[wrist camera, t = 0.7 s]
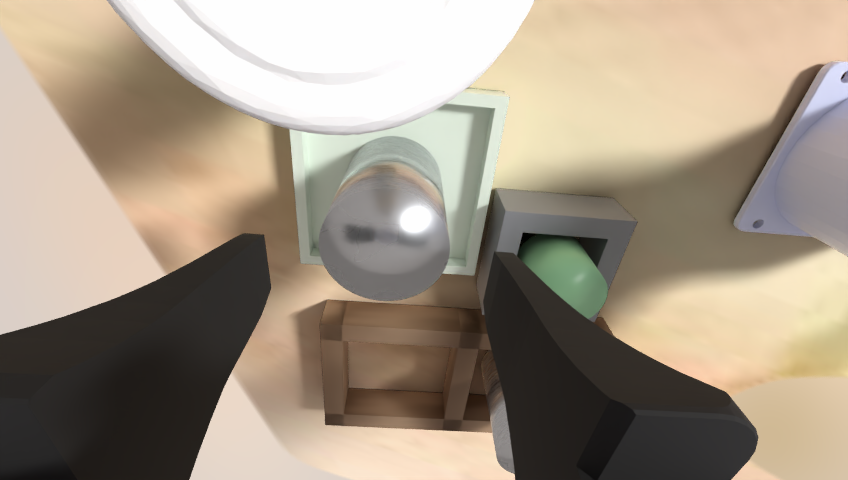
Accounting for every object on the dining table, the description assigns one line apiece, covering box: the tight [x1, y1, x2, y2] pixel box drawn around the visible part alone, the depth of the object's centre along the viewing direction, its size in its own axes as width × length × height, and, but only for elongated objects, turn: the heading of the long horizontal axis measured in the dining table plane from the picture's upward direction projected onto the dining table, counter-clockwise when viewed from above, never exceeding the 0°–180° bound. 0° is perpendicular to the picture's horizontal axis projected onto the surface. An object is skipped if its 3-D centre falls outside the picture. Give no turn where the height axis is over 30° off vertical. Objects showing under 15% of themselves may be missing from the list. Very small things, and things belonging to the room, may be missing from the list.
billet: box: [319, 136, 450, 301], centre depth 16 cm, size 4×4×6 cm
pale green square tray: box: [290, 88, 510, 276], centre depth 18 cm, size 9×9×1 cm
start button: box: [517, 234, 608, 319], centre depth 18 cm, size 3×3×3 cm
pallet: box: [320, 300, 613, 433], centre depth 24 cm, size 17×9×2 cm, turn 85°
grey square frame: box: [476, 188, 638, 322], centre depth 20 cm, size 6×6×2 cm
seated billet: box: [481, 350, 515, 474], centre depth 23 cm, size 4×4×6 cm
